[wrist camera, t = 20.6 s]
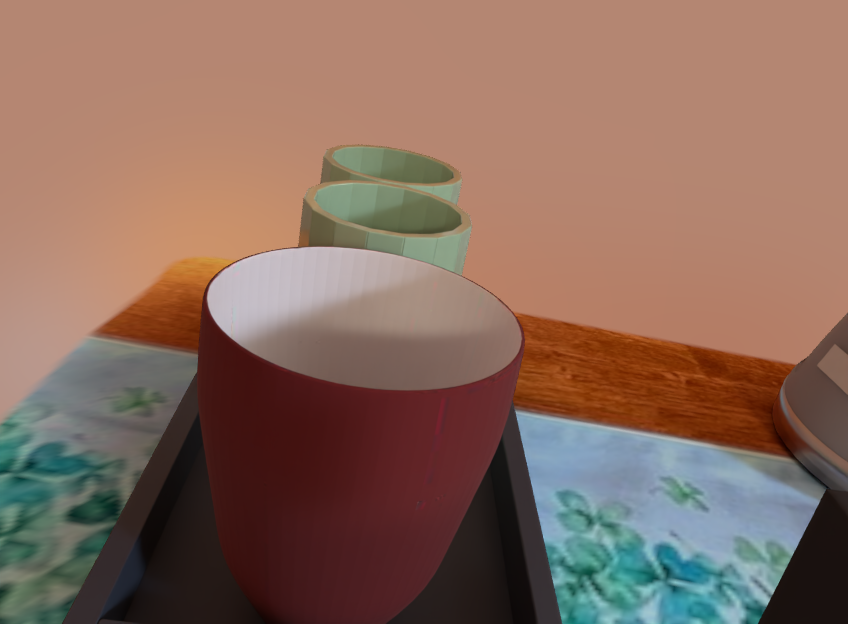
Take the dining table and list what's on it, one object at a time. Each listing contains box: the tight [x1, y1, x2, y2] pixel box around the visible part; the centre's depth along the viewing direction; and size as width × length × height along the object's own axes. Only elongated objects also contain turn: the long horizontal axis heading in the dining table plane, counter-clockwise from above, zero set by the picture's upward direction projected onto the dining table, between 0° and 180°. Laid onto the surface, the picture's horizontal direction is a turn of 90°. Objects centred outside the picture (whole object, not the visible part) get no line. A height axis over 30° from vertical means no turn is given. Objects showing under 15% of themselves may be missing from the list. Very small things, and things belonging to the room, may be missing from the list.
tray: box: [62, 373, 562, 624], centre depth 30 cm, size 13×25×3 cm, turn 0°
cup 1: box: [320, 145, 462, 205], centre depth 36 cm, size 6×6×10 cm
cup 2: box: [298, 180, 472, 276], centre depth 30 cm, size 6×6×10 cm
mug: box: [197, 246, 525, 624], centre depth 22 cm, size 10×8×10 cm
